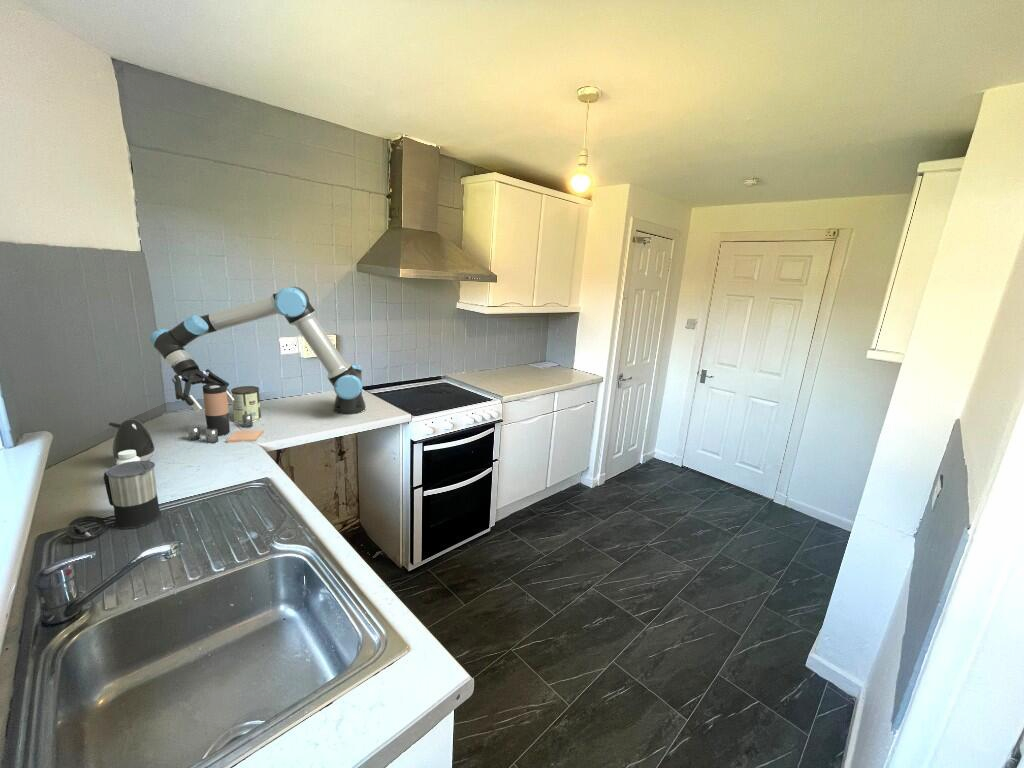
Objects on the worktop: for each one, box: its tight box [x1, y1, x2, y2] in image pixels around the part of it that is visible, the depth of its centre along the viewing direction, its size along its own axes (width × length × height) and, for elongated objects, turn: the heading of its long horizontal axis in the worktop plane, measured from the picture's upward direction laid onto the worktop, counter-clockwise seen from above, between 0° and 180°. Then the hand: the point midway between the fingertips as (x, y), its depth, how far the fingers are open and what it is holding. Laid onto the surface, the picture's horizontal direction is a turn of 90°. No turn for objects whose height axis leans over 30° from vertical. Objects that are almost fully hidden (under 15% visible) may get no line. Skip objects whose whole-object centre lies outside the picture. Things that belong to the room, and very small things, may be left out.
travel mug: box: [202, 383, 231, 437], centre depth 163 cm, size 8×8×20 cm
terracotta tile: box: [225, 429, 265, 443], centre depth 164 cm, size 10×10×1 cm
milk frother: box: [65, 460, 162, 541], centre depth 103 cm, size 14×16×15 cm
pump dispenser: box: [108, 418, 155, 461], centre depth 135 cm, size 10×10×15 cm
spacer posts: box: [187, 414, 254, 444], centre depth 164 cm, size 17×20×5 cm
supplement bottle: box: [115, 450, 141, 466], centre depth 124 cm, size 5×5×10 cm
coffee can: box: [230, 385, 262, 424], centre depth 181 cm, size 10×10×14 cm
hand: (216, 406), depth 162 cm, fingers open, 13 cm apart
